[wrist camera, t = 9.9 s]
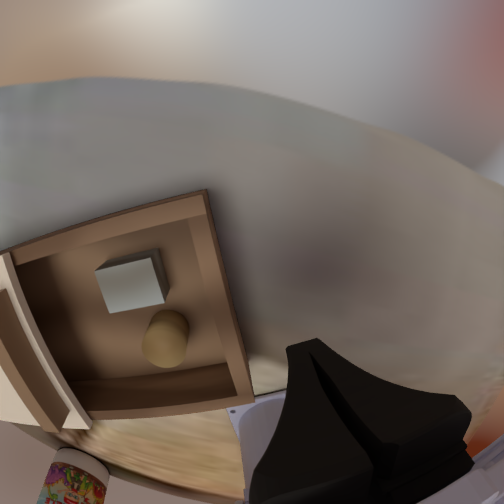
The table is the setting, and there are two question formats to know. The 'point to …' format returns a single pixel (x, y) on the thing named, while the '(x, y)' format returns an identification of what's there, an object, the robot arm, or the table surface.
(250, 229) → the table surface
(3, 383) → the lid
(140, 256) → the storage box
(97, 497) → the milk bottle
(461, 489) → the robot arm
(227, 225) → the table surface
